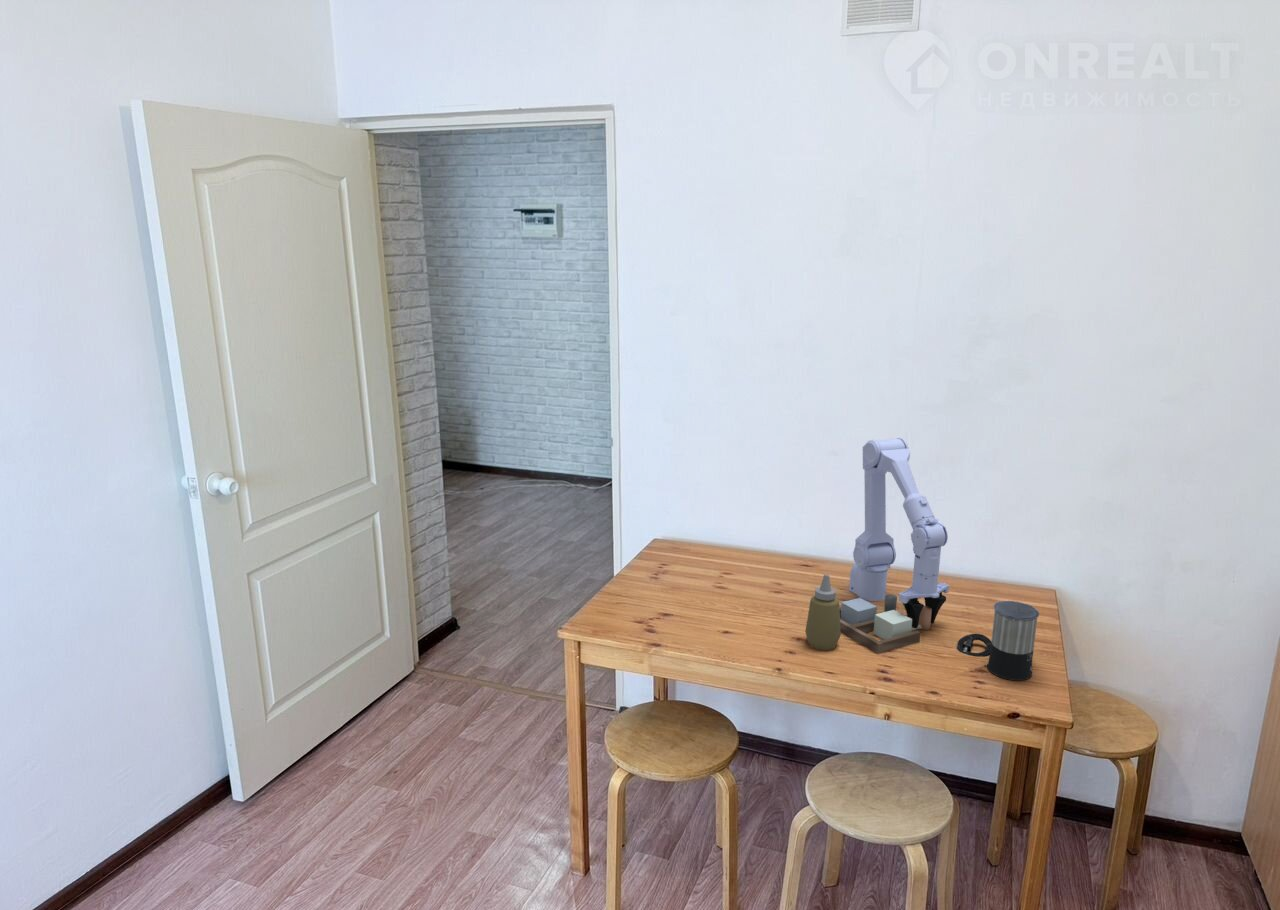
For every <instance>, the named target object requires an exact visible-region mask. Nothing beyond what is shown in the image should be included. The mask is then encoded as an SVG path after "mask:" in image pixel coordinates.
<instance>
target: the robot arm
mask: <svg viewBox="0 0 1280 910" xmlns="http://www.w3.org/2000/svg"><path fill="white" fill-rule="evenodd" d="M910 458H911V452H910V450H909V446H908V443H907V441H906V440H905V439H904V438H903V437H897V438H888V439H875V440H874V439H870V440H868V441H866V443H865V444H864V445H863V446H862V470H864V531H863V532H862V533H861V534H860V535H859V536H857V537H856V538H855V541H854V542H855V544H854V549H853V551H852V557H853V561H854V562H855V563H854V564H853V565H852V567H851V569H850V571H849V587H848V591H850V592H851V593H853V594H855V595H857V597H858V598H861V599H863V600H865V601H867V602H880V601H883V600H884V601H885V596H886V595H887V593H886V592H887V581H888V569H891V565H893V564H894V563H895V561H896V557H897V551H896V548H895V544H894V538H893V537H892V536H891V535H890V534H888V533H887V532H886V529H887V528H886V526H887V524H886V522H887V517H886V516H887V515H886V509H887V508H886V502H887V501H886V495H887V493H886V489H887V488H886V474H887V472H888V473H890V474H891V475H892V477H893V479H894V481H895V482H896V484H897V487H898V488H899V490H900V492H901V494H902V496H903V498H904V500H903V503H902V507H903V510H904V512H905V515H906V516H907V519H908V522H909V524H910V526H911V529H912V532H911V533H910V540H911V543H912V545H913V546H912V551H913V554H914V560H913V572H912V573H913V574H912V583H911V584H912V585H911V587H908V588H906V590H904V591H902V592H899V593H898V601H899V602H900V603H902V606H903V607H904V610H905V612H906V616H907V617H909V618H911V619H912V627H913V628H917V627H918V623H919V617H920V613H921V610H922V608H923V606H928V607H930V608H932V613H931V624H930V625H933V624H934V623H935V621H936V619H937V616H938V613H939V612H940V609H941V608H942V606H943V605H944V603H946V601H947V597H946V595H943V593H944V594H947V593H949V590H950V584H947V583H945V582H939V573H940V564H941V563H940V562H941V561H940V560H941V552H942V551H941V550H942V547H944V546H946V544H947V543H948V531H947V528H946V526H945V525H944V523H942V522H940V520H939V519H938V518H935V515H934V512H933V511H932V508H931V506H930V504H929V501H928V499H927V497H926V496H924V495H923V494H920V493H919V490H918V487H917V484H916V481H915V478H914V475H913V472H912V470H911V466H910V464H909V462H910V461H909V460H910ZM938 582H939V583H938ZM922 598H924V604H923V603H922V602H920V600H919V599H922Z"/></svg>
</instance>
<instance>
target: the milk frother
mask: <svg viewBox="0 0 1280 910" xmlns="http://www.w3.org/2000/svg"><path fill="white" fill-rule="evenodd" d="M993 609H994V614H993V615H994V616H993V623H992V624H993V625H992V631H991V633H992V634H991V639H990V638H989V637H988V636H986V635H984V634H980V633H970V634H966V635H964V636H963V637H960V639H959V640H958V641H957V643H956V647H957V650H958V652H960V653H962V654H964V655H968V656H970V657H976V658H977V657H987V656H989V657H988V663H987V664H986V668H987V670H988V671H989V672H990V673H991V674H993V675H995V676H996V677H999V678H1002V679H1005V680H1008V681H1009V680H1010V681H1017V680H1018V681H1019V682H1020V681H1026V680H1028V679H1030V678H1032V676H1033V671H1032V670H1033V657H1034V648H1035V641H1036V640H1035V639H1036V632H1037V623H1038V622H1037V621H1038V617H1040V612H1039V610H1038V609H1037V608H1036V607H1034V606H1033V605H1030V604H1027V603H1024V602H1021V601H1020V602H1019V601H1013V600H1003V601H1002V600H1001V601H999V602H996V603H994V604H993ZM974 641H981V642H983V643H984V645H985V646H986V648H985V649H984V650H982V651H981V652H972V647H973V644H974V643H973V642H974Z"/></svg>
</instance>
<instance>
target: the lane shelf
mask: <svg viewBox="0 0 1280 910" xmlns="http://www.w3.org/2000/svg"><path fill="white" fill-rule="evenodd" d="M839 607H840V606H839ZM840 618H841V607H840ZM874 621H875V619H874V620H870V621H866V622H862V623H859V624H855V625H850V624H848V623H846V622H845V621H843V620H841V619H840V630H841V633H842V634H843V635H844V636H847V637H849V638H850V639H852V640H853V641H855V642H857V643H858V644H859V645H862V646H864V647H866V648H867V649H868V650H870V651H872V652H873V653H876V654H877V655H879V654H884V653H887V652H890V651H894V650H897V649H900V648H904V647H908V646H910V645H914V644H918V643H920V642H921V632H920V631H919V630H913V631H911V632H909V633H906V634H902V635H899V636H895V637H891V638H888V639H882V640H881V639H880V640H878V639H876V638H875V637H873V636H871V635H870V634H869V633H874Z"/></svg>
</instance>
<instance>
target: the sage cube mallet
mask: <svg viewBox="0 0 1280 910" xmlns="http://www.w3.org/2000/svg"><path fill="white" fill-rule="evenodd" d="M931 613H932V608H930V607H928V606H925V605H924V606H923V608H922V610H921V613H920V617H919V623H918V627H917V628H913V627H912V619H911V618H909V617H907V615H904V614H903V613H901V612H899V611H897V610H896V611H895V610H891V611H887V612H884V611H883V612H879V613H877V614H875V621H874V632H873V635H874V636H877V637H878V638H879V639H882V640H884V639H888V638H891V637H895V636H899V635H902V634H906V633H909V632H913V631H917V630H919V629H920V630H923V631H924V630H925V631H929V630H931V625H932V624H931Z"/></svg>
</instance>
